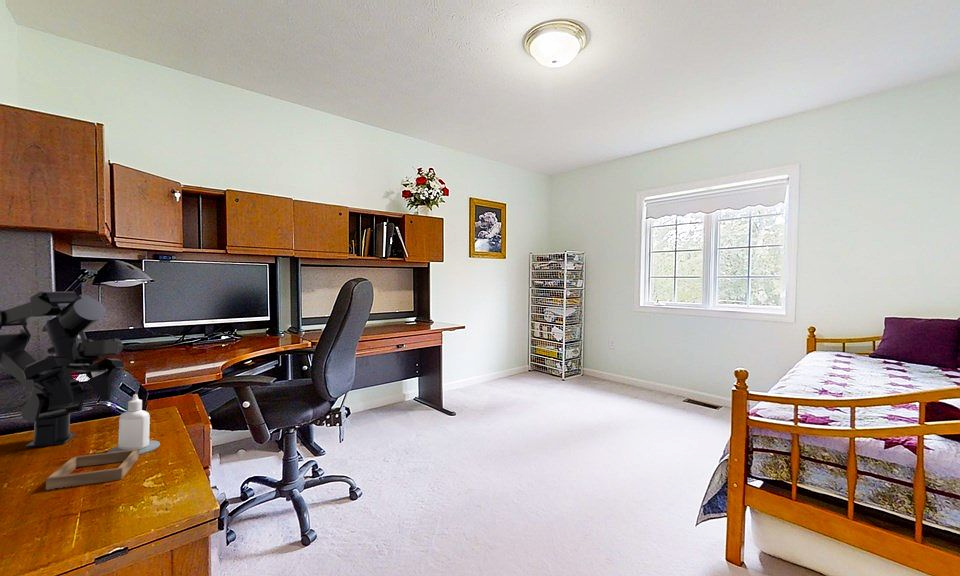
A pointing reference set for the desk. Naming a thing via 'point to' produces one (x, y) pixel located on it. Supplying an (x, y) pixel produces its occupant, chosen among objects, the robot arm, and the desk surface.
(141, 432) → the eye dropper bottle
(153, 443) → the rubber coaster
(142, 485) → the desk surface
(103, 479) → the walnut collar
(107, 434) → the desk surface
